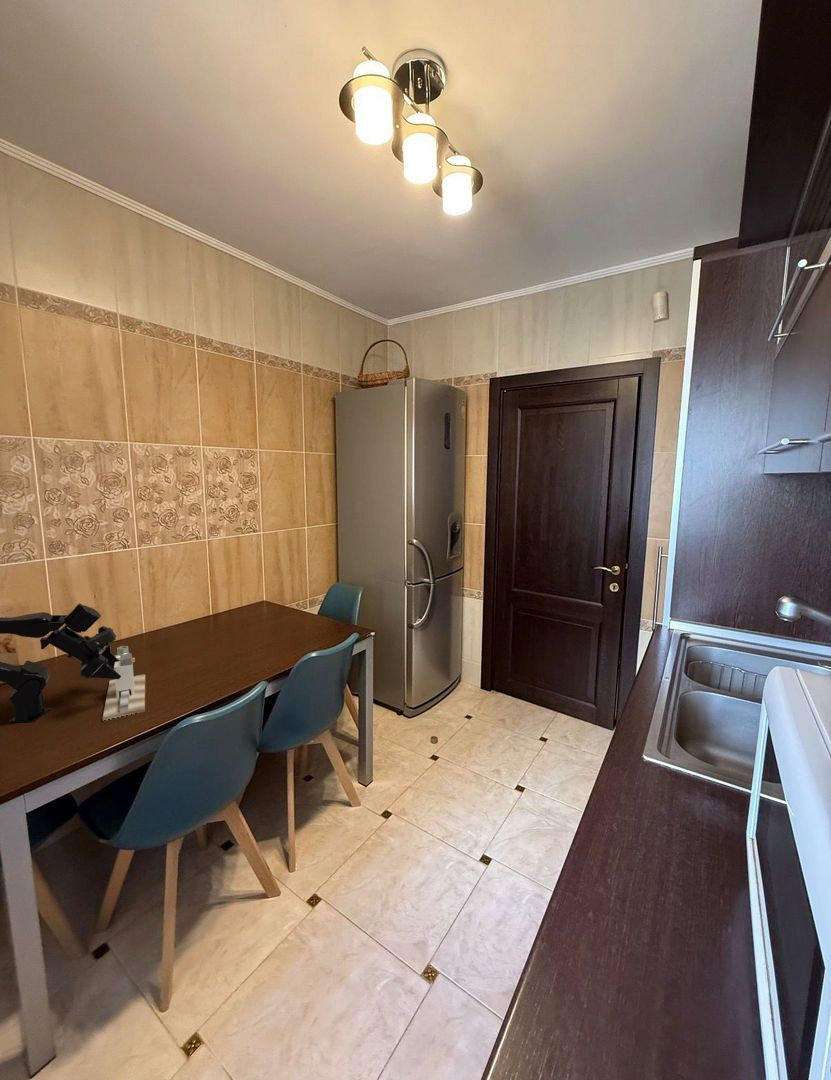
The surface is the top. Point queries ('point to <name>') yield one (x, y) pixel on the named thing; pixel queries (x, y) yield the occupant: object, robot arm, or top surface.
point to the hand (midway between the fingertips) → (120, 671)
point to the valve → (121, 652)
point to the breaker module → (125, 674)
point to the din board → (133, 699)
